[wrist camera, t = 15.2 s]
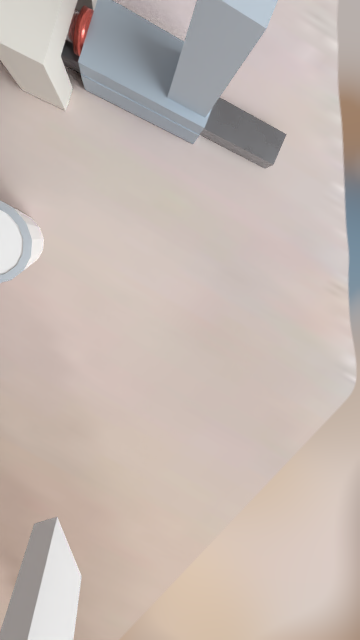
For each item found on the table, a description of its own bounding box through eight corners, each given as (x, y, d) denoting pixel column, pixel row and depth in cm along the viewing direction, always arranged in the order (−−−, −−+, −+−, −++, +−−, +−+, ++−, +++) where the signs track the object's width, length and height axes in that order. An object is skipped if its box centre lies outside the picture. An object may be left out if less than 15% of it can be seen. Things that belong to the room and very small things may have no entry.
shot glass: (45, 202, 33) (24, 194, 26) (54, 272, 35) (37, 281, 28) (-30, 204, 32) (-72, 196, 25) (-17, 276, 34) (-52, 287, 27)
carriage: (85, 89, 31) (34, -90, 14) (104, 29, 30) (75, -242, 13) (192, 144, 34) (263, 49, 16) (213, 90, 33) (310, -69, 15)
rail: (33, 49, 30) (27, 36, 28) (44, 13, 29) (38, -3, 27) (265, 168, 35) (273, 164, 33) (277, 139, 35) (286, 134, 33)
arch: (21, 89, 30) (-20, 33, 22) (56, -31, 29) (26, -145, 20) (65, 111, 31) (43, 64, 23) (102, -5, 30) (92, -103, 21)
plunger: (-24, 9, 27) (-43, -20, 24) (-12, -35, 26) (-31, -71, 23) (85, 66, 29) (80, 46, 26) (98, 26, 28) (94, 1, 25)
